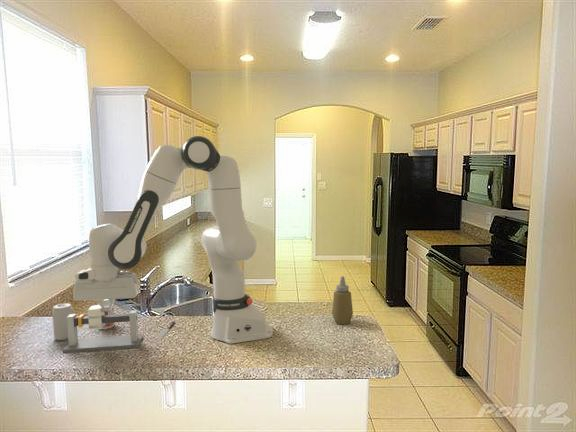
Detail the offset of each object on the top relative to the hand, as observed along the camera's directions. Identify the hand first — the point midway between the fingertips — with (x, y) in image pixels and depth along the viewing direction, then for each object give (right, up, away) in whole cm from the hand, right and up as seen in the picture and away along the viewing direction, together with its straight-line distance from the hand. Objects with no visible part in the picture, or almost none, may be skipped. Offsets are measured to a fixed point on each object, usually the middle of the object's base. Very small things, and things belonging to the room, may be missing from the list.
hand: (107, 311), depth 149 cm
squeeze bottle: (+83, -9, +20) cm, 86 cm away
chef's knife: (+16, -11, +12) cm, 23 cm away
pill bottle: (-8, -10, +18) cm, 22 cm away
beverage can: (-18, -11, +8) cm, 23 cm away
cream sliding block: (-3, -5, 0) cm, 6 cm away
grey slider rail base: (-1, -12, +1) cm, 12 cm away
